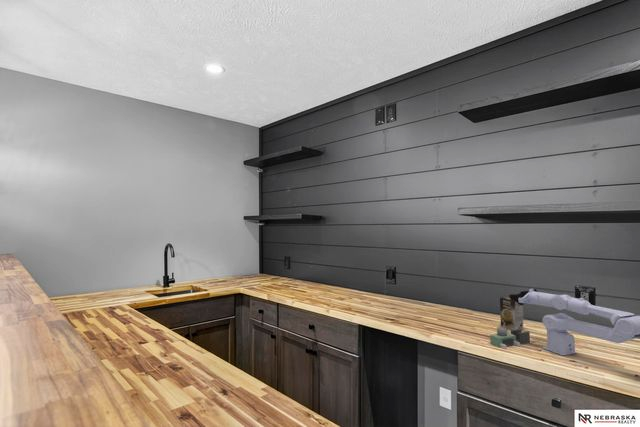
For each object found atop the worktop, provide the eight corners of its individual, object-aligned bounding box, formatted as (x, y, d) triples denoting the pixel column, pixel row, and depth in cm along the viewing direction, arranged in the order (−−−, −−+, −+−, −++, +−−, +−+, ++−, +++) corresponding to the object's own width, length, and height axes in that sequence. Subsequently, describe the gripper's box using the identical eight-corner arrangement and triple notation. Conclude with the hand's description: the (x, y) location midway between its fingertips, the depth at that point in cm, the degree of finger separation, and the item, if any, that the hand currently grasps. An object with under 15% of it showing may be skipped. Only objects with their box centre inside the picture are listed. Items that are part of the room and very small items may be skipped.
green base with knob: (520, 346, 154) (520, 330, 154) (504, 349, 151) (503, 333, 151) (506, 341, 161) (506, 326, 161) (490, 343, 158) (489, 328, 158)
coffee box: (500, 327, 182) (499, 297, 183) (509, 326, 185) (508, 296, 185) (515, 332, 174) (514, 300, 174) (524, 330, 176) (523, 299, 177)
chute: (520, 339, 163) (520, 328, 163) (530, 342, 159) (529, 331, 159) (511, 341, 161) (510, 330, 161) (520, 344, 157) (520, 333, 157)
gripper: (551, 287, 158) (524, 284, 170) (529, 293, 152) (503, 289, 165) (554, 302, 157) (527, 298, 170) (532, 309, 152) (505, 304, 165)
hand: (515, 295), depth 167 cm, fingers open, 7 cm apart
